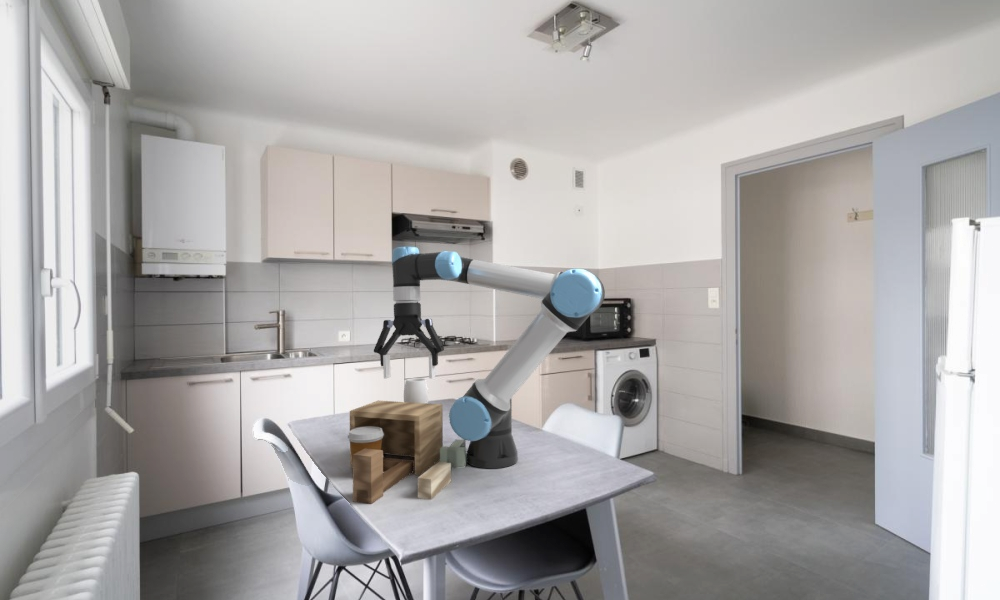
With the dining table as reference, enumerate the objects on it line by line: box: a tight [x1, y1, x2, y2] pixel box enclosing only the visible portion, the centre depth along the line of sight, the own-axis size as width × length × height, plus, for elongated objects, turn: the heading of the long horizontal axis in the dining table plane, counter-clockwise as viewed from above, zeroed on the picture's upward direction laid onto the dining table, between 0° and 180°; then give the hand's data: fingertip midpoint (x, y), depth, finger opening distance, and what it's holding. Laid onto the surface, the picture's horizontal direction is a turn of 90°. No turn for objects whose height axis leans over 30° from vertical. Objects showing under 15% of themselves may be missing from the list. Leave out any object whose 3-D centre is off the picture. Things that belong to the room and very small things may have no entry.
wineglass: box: [403, 377, 429, 404], centre depth 161 cm, size 9×9×21 cm
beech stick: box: [417, 461, 452, 500], centre depth 121 cm, size 4×12×5 cm, turn 163°
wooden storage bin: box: [349, 400, 444, 476], centre depth 141 cm, size 22×15×16 cm
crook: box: [352, 449, 415, 505], centre depth 125 cm, size 16×22×11 cm
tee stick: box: [439, 438, 467, 469], centre depth 142 cm, size 7×10×5 cm
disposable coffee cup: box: [347, 426, 384, 462], centre depth 131 cm, size 10×10×12 cm
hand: (409, 377), depth 136 cm, fingers open, 13 cm apart
